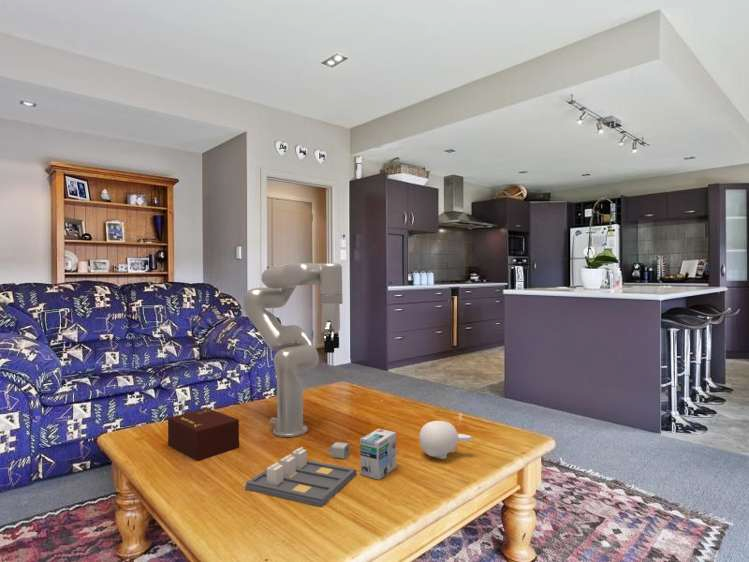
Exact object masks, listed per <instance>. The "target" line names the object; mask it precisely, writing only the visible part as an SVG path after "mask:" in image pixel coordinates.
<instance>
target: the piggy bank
mask: <svg viewBox="0 0 749 562" xmlns="http://www.w3.org/2000/svg"><path fill="white" fill-rule="evenodd" d="M418 436H419V437H418V439H419V440H418V441H419V444H420V447H421V449H422V450H423V452H424V453H426V455H427V456H430V457H433V458H436V459H439V460H440V459H441V460H446V459H447V457H448V455H449V453H454V452H455V450H456V449H455V448H456V447H457V445H458V443H459V442H463V443H464V442H468V443H469V442H471V441H472V435H468V434H464V433H458V432H457V429H456V428H455V426H454V425H453V424H451V423H450V422H448V421H444V420H432V421H429V422H426V423H425V424H424V425H423V426H422V428H421V429H420V432H419V435H418Z"/></svg>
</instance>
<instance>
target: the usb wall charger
mask: <svg viewBox="0 0 749 562" xmlns="http://www.w3.org/2000/svg"><path fill="white" fill-rule="evenodd" d="M325 451H326V452H329V453H331V457H332V459H333V458H334V459H341V460H346V459H347V458H348V457H349V455H350V444H349V443H348V442H347V443H346V442H339V441H335V443H333V444H331V446H329V447H328V448H325Z"/></svg>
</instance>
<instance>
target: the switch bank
mask: <svg viewBox="0 0 749 562" xmlns="http://www.w3.org/2000/svg"><path fill="white" fill-rule="evenodd" d="M277 462H278V463H280V460H279V461H277ZM356 475H357V469H356V468H351V467H347V466H340V465H334V464H330V463H326V462H325V463H324V462H320V461H319V462H318V461H315V460H308V459H307V465H305V466H304V467H303V468H301V469H299V468H296V473H294V474H293V475H291V476H290V477H285V476H283V482H281V483H280V484H279V485H277V486H272V485H267V468H266V469H265V470H263V471H262V472H260V473H259V474H257V475H255V476H253V477H252V478H250V479H249V480H247V481H246V482H245V487H244V488H245V491H246V490H247V491H251V492H254V493H259V494H263V495H268V496H272V497H276V498H281V499H285V500H288V501H289V500H290V501H293V502H298V503H301V504H307V505H311V506H314V507H320V508H322V507H323V506H324V505H325V504H327V502H329V501H330V500H331V499H332V498H333V497H334V496H335V495H337V493H339V491H341V489H343V488H344V487H345V486H346V485H347V484H348V483H349V482H350V481H352V480H353V479H354V478H355V477H356Z"/></svg>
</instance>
